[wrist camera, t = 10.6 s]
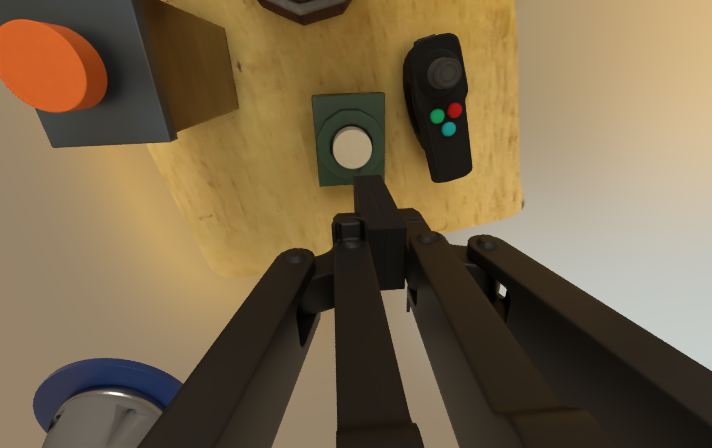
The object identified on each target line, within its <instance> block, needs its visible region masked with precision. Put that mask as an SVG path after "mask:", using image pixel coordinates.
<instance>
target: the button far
mask: <svg viewBox="0 0 712 448" xmlns="http://www.w3.org/2000/svg"><path fill="white" fill-rule="evenodd" d="M371 153H372V144H371V141H370V139H369V138H368V136H367V134H366V133H365V132H364V131H363V130H362V129H360V128H358V127H354V126H349V127H345V128H343V129H341V130H340V131H339V132H338V133H337V134H336V135H335V137H334V140H333V154H334V157H335V159H336V161H337V162H338V163H339V164H340V165H342V166H343V167H346V168H350V169H355V168H359V167H361V166H363V165H364V164H366V163H367V161H368V160H369V159H370V156H371Z"/></svg>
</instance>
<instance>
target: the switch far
mask: <svg viewBox="0 0 712 448" xmlns="http://www.w3.org/2000/svg"><path fill="white" fill-rule="evenodd" d="M312 106H313V117H314V129H315V140H316V151H317V163H318V174H319V185H320V187H321V186H338V185H353V176H366V175H381V177H382V179H383V181H384V165H385V94H384V93H382V92H372V93H348V94H325V95H313V96H312ZM349 126H354V127H358V128H360V129H362V130H363V131H364V132H365V133H366V134H367V136H368V138H369V139H370V141H371V144H372V153H371V156H370V159H369V160H368V161H367V163H366V164H364V165H363V166H361V167H359V168H355V169H350V168H346V167H343V166H342V165H340V164H339V163H338V162H337V161H336V159H335V157H334V154H333V140H334V137H335V135H336V134H337V133H338V132H339V131H340V130H341V129H343V128H345V127H349Z"/></svg>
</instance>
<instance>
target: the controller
mask: <svg viewBox="0 0 712 448" xmlns="http://www.w3.org/2000/svg"><path fill="white" fill-rule="evenodd" d="M403 88H404V95H405V101H406V105H407V110H408V114H409V118H410V121H411V124H412V127H413V130H414V132H415V135H416V137H417V140H418V141H419V143H420V145H421V147H422V149H423V150H424V151H425V154H426V158H427V163H428V167H429V171H430V175H431V179H432V181H433V182H436V183H442V182H448V181H452V180H455V179H458V178H461V177H464V176H466V175H467V174H469V173H470V172H471V171H472V168H473V167H472V158H471V149H470V140H469V131H468V122H467V113H466V104H465V98H466V96H467V93H468V84H467V78H466V73H465V68H464V62H463V57H462V51H461V46H460V43H459V40H458V37H457V36H456V35H454V34H451V33H445V34H439V35H435V34H433V35H430V36H427V37H424V38H421V39H418V40H417V41H415V42H414V47H413V48H412V49H411V50H410V51H409V52H408V54H407V56H406V58H405V61H404V65H403Z"/></svg>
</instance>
